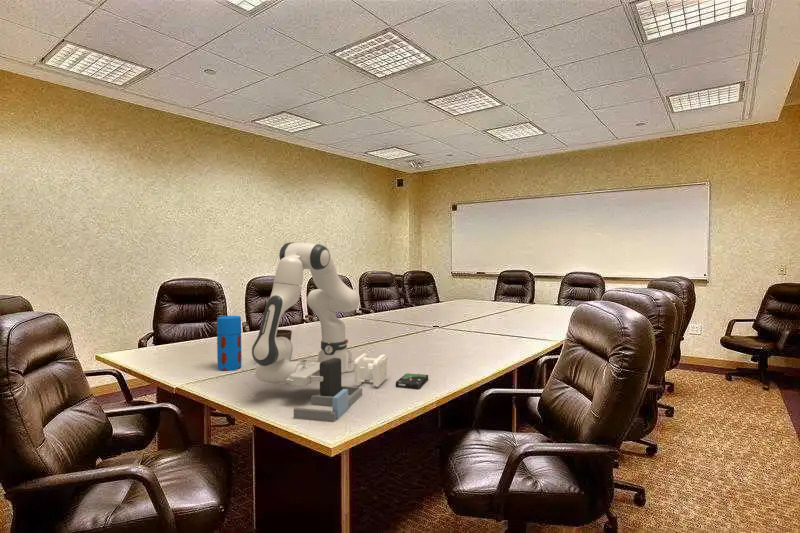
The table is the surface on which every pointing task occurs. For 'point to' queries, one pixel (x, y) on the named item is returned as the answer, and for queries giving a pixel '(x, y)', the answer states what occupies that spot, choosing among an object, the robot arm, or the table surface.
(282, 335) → the plant pot
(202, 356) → the table surface
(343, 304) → the robot arm
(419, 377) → the disk drive
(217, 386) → the table surface
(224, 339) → the thermos
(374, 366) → the cable organizer
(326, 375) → the card reader
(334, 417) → the comb rack
